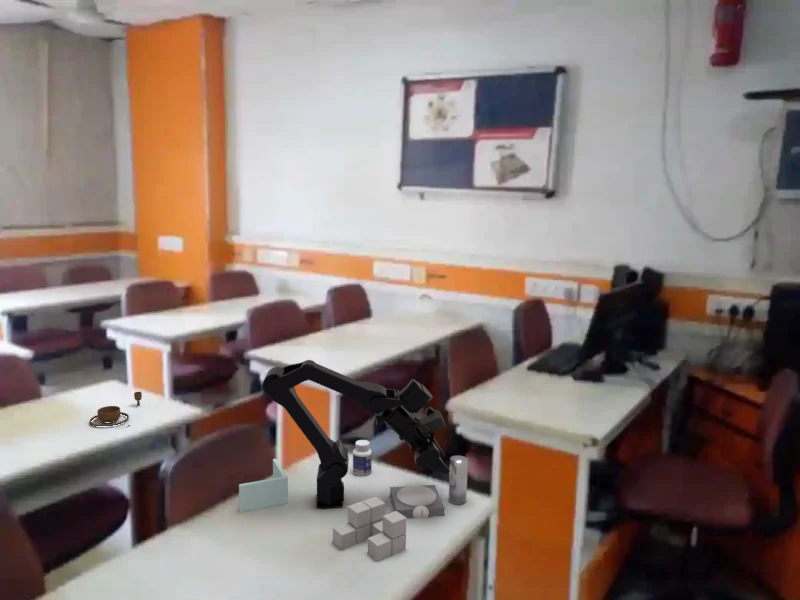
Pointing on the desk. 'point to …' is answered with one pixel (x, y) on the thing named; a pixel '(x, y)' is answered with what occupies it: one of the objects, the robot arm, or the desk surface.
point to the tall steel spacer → (458, 480)
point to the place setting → (113, 412)
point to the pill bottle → (362, 458)
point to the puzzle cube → (372, 529)
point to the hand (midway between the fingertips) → (446, 464)
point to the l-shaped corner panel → (265, 491)
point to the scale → (417, 501)
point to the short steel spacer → (386, 509)
